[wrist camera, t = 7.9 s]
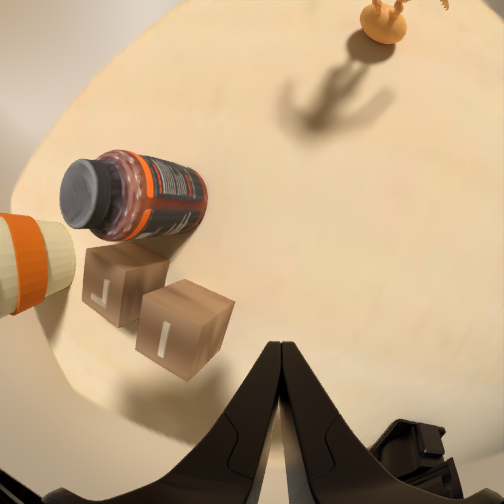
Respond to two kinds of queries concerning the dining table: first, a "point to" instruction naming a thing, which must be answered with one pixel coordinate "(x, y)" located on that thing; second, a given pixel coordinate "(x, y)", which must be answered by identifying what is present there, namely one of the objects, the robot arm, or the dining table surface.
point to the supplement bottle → (131, 196)
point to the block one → (182, 326)
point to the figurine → (386, 21)
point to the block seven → (121, 280)
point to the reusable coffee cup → (32, 261)
